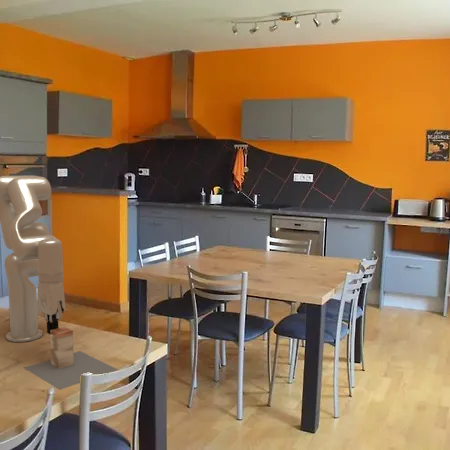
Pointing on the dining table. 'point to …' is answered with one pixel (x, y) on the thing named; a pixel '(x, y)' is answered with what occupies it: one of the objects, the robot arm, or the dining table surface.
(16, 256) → the robot arm
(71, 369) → the mat
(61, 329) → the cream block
